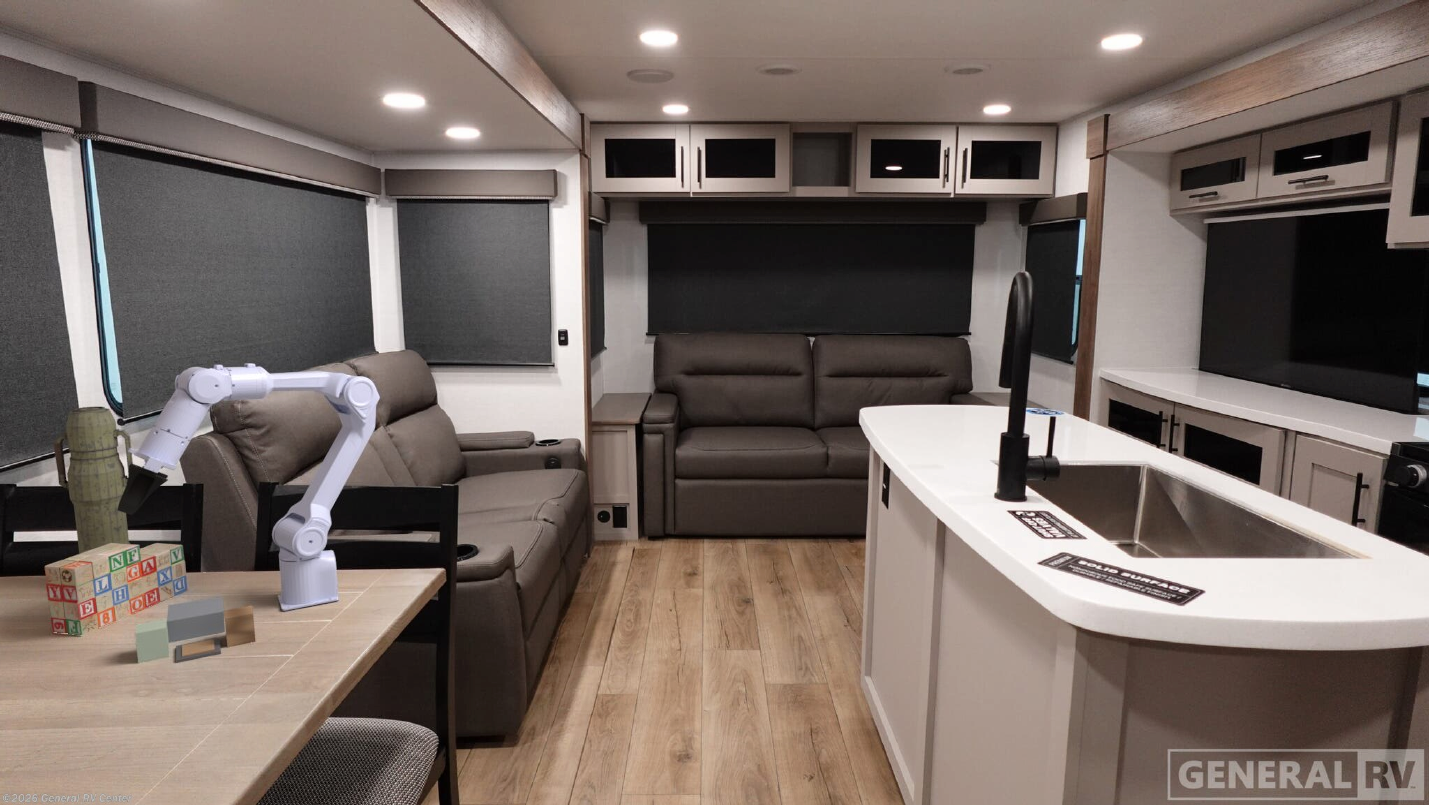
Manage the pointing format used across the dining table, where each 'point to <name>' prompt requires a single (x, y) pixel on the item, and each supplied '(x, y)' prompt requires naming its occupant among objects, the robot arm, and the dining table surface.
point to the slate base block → (195, 619)
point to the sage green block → (152, 641)
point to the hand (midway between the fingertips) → (125, 510)
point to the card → (198, 649)
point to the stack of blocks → (112, 584)
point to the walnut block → (239, 626)
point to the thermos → (94, 476)
